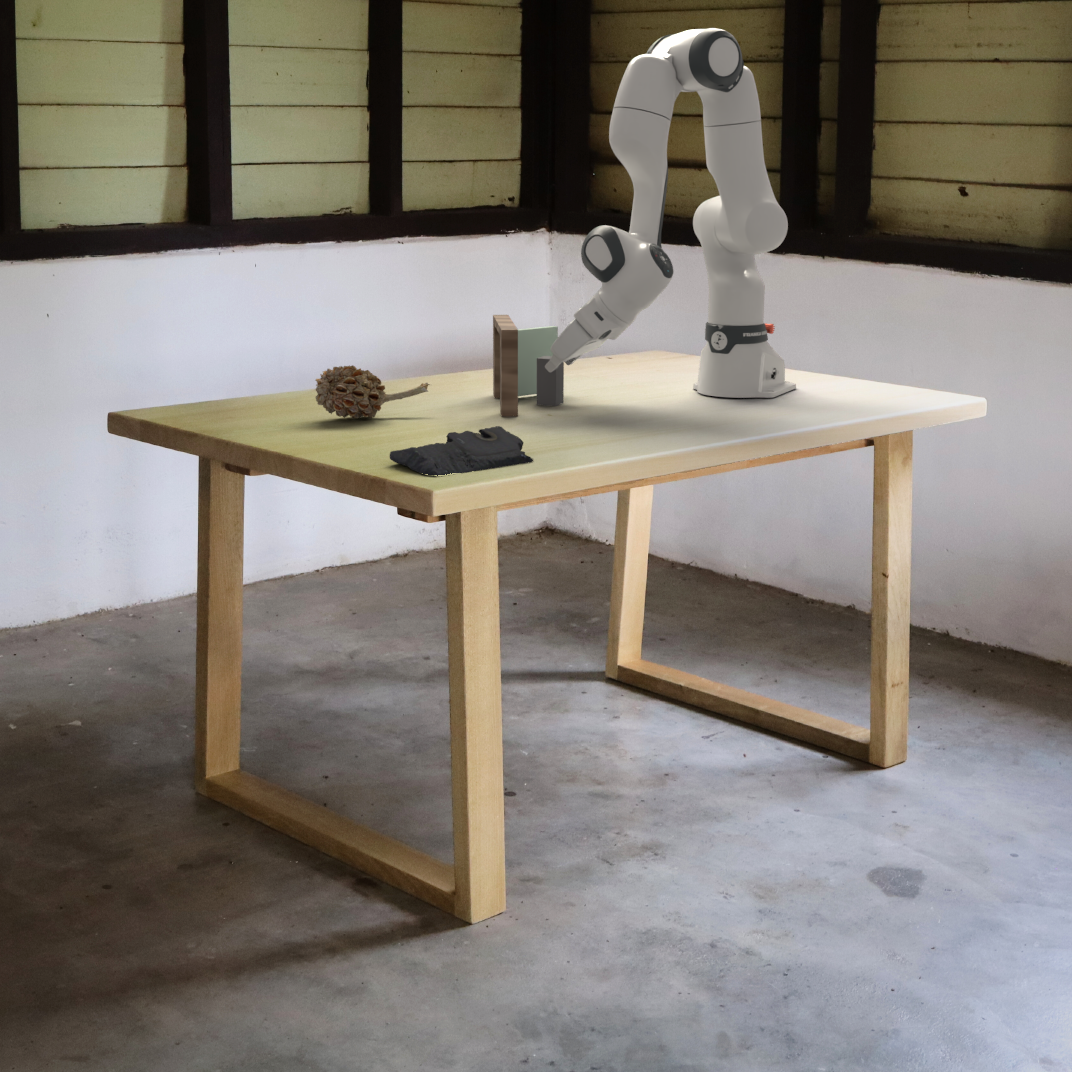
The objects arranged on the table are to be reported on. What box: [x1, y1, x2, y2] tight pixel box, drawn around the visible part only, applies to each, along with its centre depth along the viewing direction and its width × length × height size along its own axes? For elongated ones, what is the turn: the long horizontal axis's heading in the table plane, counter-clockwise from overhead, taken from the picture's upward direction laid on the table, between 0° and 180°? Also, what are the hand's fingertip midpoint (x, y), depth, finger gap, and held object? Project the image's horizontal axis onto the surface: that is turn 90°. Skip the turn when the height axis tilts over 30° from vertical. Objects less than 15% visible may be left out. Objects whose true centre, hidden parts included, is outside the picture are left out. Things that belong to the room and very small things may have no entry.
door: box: [517, 325, 559, 397], centre depth 300 cm, size 13×3×13 cm, turn 130°
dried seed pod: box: [314, 365, 431, 420], centre depth 277 cm, size 22×10×10 cm, turn 117°
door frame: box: [492, 314, 519, 418], centre depth 289 cm, size 25×3×16 cm, turn 5°
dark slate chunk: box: [389, 425, 534, 476], centre depth 240 cm, size 15×22×5 cm
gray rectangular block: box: [536, 356, 565, 407], centre depth 292 cm, size 4×4×9 cm
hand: (557, 365), depth 291 cm, fingers open, 8 cm apart
